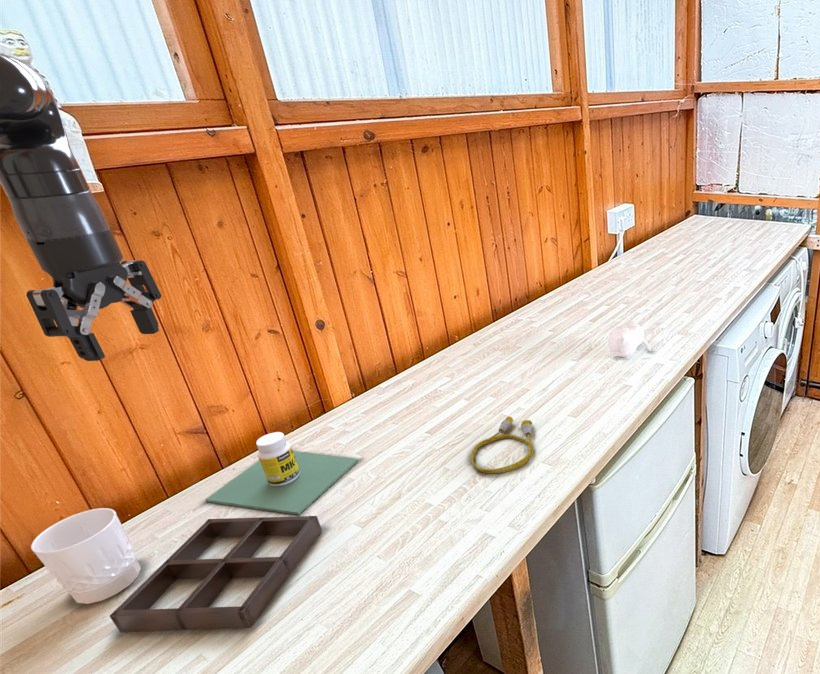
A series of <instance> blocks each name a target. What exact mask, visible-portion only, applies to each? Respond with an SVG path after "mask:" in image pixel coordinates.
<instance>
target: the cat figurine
mask: <svg viewBox="0 0 820 674" xmlns="http://www.w3.org/2000/svg"><path fill="white" fill-rule="evenodd" d="M642 343H644V345H645V347H646V348H647V350H648V351H649V352H651V351H652V347H651V345H650V344H649V343H648V341H647V340H646V339H645V332H644V329H643V327H642V326H641V325H640V324H638V323H636V322H634V321H633V320H629V322H627V323H625V324H623V325H622V326H618V327H615V328H614V329H612V330H611V331H610V333H609V334H608V336H607V346H608V349H609V352H608V358H614V357H620V358H626V357H627V358H628V357H630V356H631V355H633V354H634V353H635V352H636V350H637V349H638V347H639V346H640V345H641V344H642Z"/></svg>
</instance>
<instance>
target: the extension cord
mask: <svg viewBox="0 0 820 674" xmlns="http://www.w3.org/2000/svg"><path fill="white" fill-rule="evenodd" d="M513 422H514V419H513V417H512V416H510V415H509V416H507V417H505V419H503V421H501V423H500V426H499V429H498V432H497V433H495V434H494V435H492V436H491V437H489V438H486V439H484V440H481V441H480V442H478V443H477V444H476V445H475V446H474V447H473V449H472V451H471V454H470V464H471V465H472V466H473V467H474V468H475V469H476V470H477V471H479V472H481V473H484V474H502V473H506V472H509V471H513V470H515V469H517V468H520V467H522V466H524V465H525V464H526V463H527V462H528V460H530V459H531V457H532V456H533V453H534V447H533V445H532V441H531V436H532V432H533V429H532V428H533V427H532V425H533V422H532V420H530V419H529V420H528V419H524V420H523V421H522V422H521V424H520V427H521V431H522V432H523V434H524V436H525V437H526V438H527V439H525V438H523V437H520V436H517V435H513V434H504V433H505V432H506V431H508V430H510V428H511V426H512V424H513ZM499 434H500V435H499ZM502 439H514V440H517V441H520V442H521V443H524V444H526V445H527V446H528V448H529V449H528V450H529V451H528V453H527V454H526V456H525V457H523V458H522V459H520V460H517V461H516V462H514V463H512V464H509V465H506V466H504V467H499V468H491V469H488V468H487V469H486V468H481V467H480V466H477V465H476V464H475V462H474V457H475V455H476V452H477V450H478V449H479V448H480V447H481V446H483V445H486V444H488V443H491V442H495V441H498V440H502Z"/></svg>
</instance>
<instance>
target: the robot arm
mask: <svg viewBox="0 0 820 674" xmlns="http://www.w3.org/2000/svg"><path fill="white" fill-rule="evenodd" d="M60 111H61V110H60V108H59V105H58V102H57V100H56V97H55V95H54V94H53V91H52V89H51V88H50V85H49V84H48V82H47V81H46V80H45V78H44V77H43V76H42V75H41V73H39V71H38V70H36V69H35V68H34V67H32V66H31V65H29V64H28V63H26V62H25V61H23V60H21V59H19V58H16V57H14V56H11V55H7V54H4V53H0V185H1V188H2V189H3V192H4V193H5V195H6V197H7V199H8V202H9V204H10V206H11V211H12V213H13V216H14V219H15V221H16V222H17V224H18V227H19V228H20V230H21V232H22V234H23V236H24V238H25V240H26V241H27V243H28V245H29V247H30V249H31V251H32V253H33V255H34V257H35V259H36V261H37V263H38V265H39V267H40V269H41V270H42V271H43V272H45V273H46V274H48V275H49V276H50V277H51V278H52V287H47V288H43V289H30V290H28V291H27V292H26V295H25V296H26V298H27V301H28V302H29V304H30V307H31V308H32V311H33V313H34V315H35V317H36V320H37V322H38V324H39V326H40V328H41V330H42V333H43V334H44V336H46V337H48V338H53V337H66V338H68V339H69V341H70V344H71V345H72V347H73V349H74V351H75V352H76V354H77V356H78V357H79V358H80V359H82V360H84V361H85V362H99V361H101V360H103V359H105V358H106V354H105V353H104V350H103V349H102V347H101V345H100V343H99V341H98V339H97V337H96V335H95V333H94V332H91V331H92V330H91V329H92V325H93V321H94V319H95V318H98V315H99V310H103V309H105V308H107V307H108V306H110V305H111V304H115V303H116V304H117V303H121V304H123V305H124V306H126V307H128V308H130V310H129V311H130V314H131V317H132V318H133V320H134V323H135V324H136V327H137V329H138V331H139V333H140V334H142V335H154V334H156V333H158V332H160V328H159V322H158V320H157V317H156V316H155V313H154V311H153V308H152V307H153V305H154V302H155V301H156V300H160V299H161V298H162V293H161V291H160V289H159V287H158V285H157V283H156V280H155V279H154V278H153V275H152V273H151V272H150V269H149V267H148V265H147V262H145V260H123V259H124V255H123V253H122V251H121V248H120V247H119V244H118V242H117V240H116V238H115V235H114V233H113V230H112V229H111V226H110V224H109V222H108V220H107V218H106V215H105V213H104V211H103V209H102V207H101V206H100V204H99V202H98V200H97V199H96V198H95V196H94V194H93V192H92V190H90V186H89V184H88V182H87V179H86V177H85V175H84V174H83V170H82V168H81V167H80V165H79V162H78V160H77V159H76V157H75V156H74V153H73V151H72V149H71V146H70V142H69V138H68V135H67V131H66V128H65V124H64V121H63V117H62V114H61V112H60ZM127 280H128V281H127ZM145 288H146V289H145ZM78 307H79V308H80V309H77V308H78Z"/></svg>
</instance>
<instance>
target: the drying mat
mask: <svg viewBox="0 0 820 674" xmlns="http://www.w3.org/2000/svg"><path fill="white" fill-rule="evenodd" d="M292 451H293V453H294V456H295V459H296V462H297V465H298V468H299V470H300V474H299V476H298V477H297V478H296V479H295V480H294V481H292V482H291V483H288V484H286V485H282V486H271V485H270V484H269V483H268V481H267V478H266V476H265V473H264V470H263V468H262V465H261V463H260V460H259V459H258V461H256V462H254V463H253V464H252V465H250V466H249V467H248V468H247V469H245V470H244V471H242V472H241V473H240V474H239V475H237V476H235V477H234V478H233V479H231V480H230V481H229V482H227V483H226V484H225V485H223V486H222V487H221V488H219V489H217V490H216V491H215V492H214V493H212V494H211V495H209V496H208V497H207V498H205V502H206V503H213V504H220V505H227V506H234V507H240V508H241V507H242V508H247V509H254V510H261V511H262V510H263V511H268V512H276V513H282V514H290V515H296V516H298V515H299V516H300V515H301V514H302V513H303V511H305V510H306V509H307V508H308V507H309V506H310V505H311V504H313V503H314V502H315V501H316V500H317V499H318V498H319V497H320V496H321V495H323V493H325V492H326V491H327V490H328V489H330V487H332V486H333V484H335V483H336V482H337V481H338V480H339V479H340V478H341V477H342V476H343V475H344V474H346V473H347V472H348V471H349V470H350V469H351V468H353V466H355V465H356V463H358V462H359V459H358V458H353V457H346V456H345V457H344V456H337V455H336V456H335V455H328V454H319V453H311V452H301V451H294V450H292Z"/></svg>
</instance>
